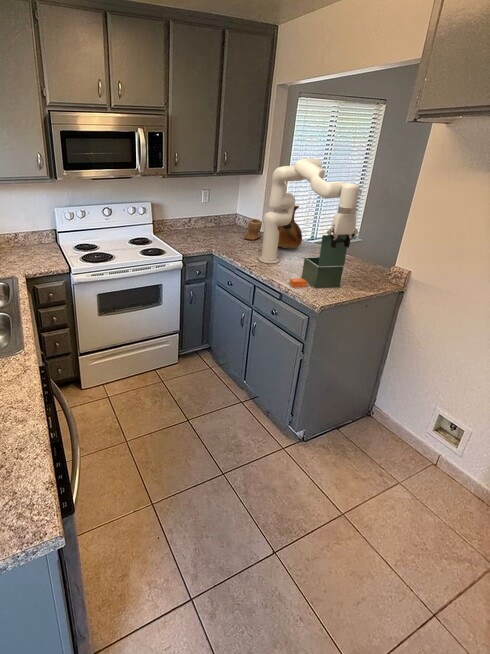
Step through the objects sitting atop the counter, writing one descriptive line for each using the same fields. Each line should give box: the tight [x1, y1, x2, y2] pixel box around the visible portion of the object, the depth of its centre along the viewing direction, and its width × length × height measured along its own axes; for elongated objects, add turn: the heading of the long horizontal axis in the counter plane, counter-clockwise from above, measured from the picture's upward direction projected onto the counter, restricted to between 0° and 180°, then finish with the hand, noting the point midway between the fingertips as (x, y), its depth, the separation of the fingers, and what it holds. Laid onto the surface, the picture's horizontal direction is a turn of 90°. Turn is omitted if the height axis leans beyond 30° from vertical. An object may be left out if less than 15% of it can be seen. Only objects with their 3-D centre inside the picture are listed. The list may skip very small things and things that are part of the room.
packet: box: [289, 277, 308, 288], centre depth 190 cm, size 7×4×3 cm, turn 96°
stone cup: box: [243, 218, 263, 241], centre depth 272 cm, size 15×12×15 cm
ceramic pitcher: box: [277, 205, 303, 250], centre depth 249 cm, size 20×20×30 cm
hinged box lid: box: [319, 234, 348, 267], centre depth 179 cm, size 16×14×5 cm
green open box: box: [301, 256, 345, 289], centre depth 193 cm, size 16×14×12 cm
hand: (339, 246), depth 175 cm, fingers open, 6 cm apart
